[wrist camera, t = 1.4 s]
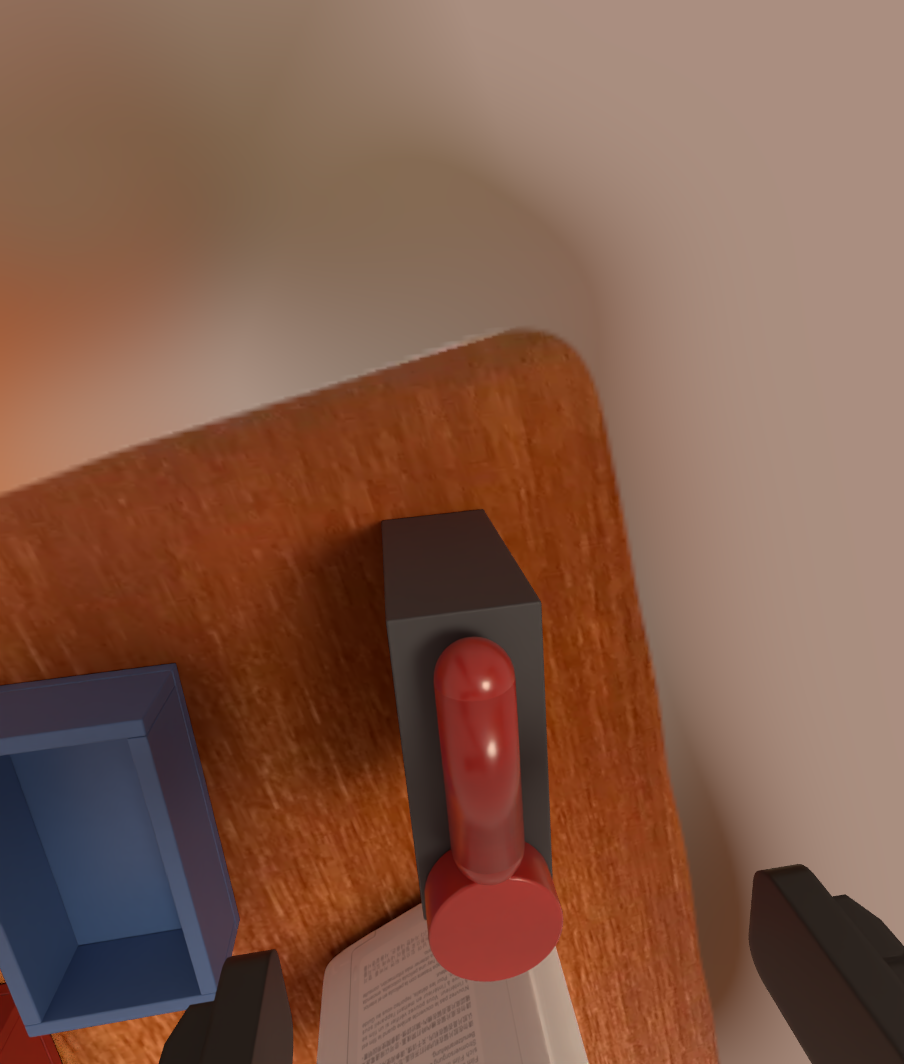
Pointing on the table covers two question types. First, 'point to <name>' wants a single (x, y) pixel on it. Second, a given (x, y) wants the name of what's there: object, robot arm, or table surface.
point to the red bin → (21, 1037)
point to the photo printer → (439, 1007)
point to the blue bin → (107, 852)
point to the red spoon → (485, 827)
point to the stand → (436, 622)
